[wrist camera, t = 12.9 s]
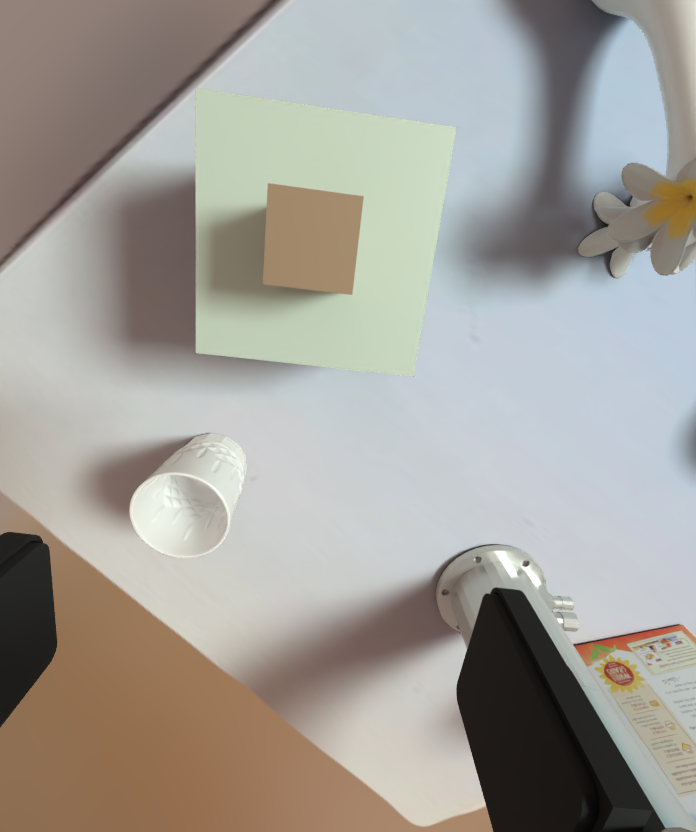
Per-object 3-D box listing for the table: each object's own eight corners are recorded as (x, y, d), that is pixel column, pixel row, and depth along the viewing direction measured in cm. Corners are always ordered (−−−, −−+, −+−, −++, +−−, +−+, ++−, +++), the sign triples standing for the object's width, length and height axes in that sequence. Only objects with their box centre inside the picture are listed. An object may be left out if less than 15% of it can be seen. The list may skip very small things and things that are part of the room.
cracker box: (571, 677, 54) (710, 912, 34) (570, 643, 52) (716, 871, 32) (680, 657, 53) (885, 885, 33) (682, 622, 51) (903, 841, 31)
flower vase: (523, 33, 37) (572, 310, 39) (605, -283, 19) (690, 261, 21) (689, -31, 34) (734, 272, 36) (973, -478, 16) (1036, 176, 18)
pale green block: (409, 184, 34) (492, 84, 16) (386, 341, 38) (431, 400, 20) (250, 161, 33) (151, 29, 15) (244, 325, 37) (161, 372, 19)
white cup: (159, 446, 41) (108, 497, 32) (228, 414, 40) (195, 456, 31) (201, 507, 44) (165, 572, 34) (267, 478, 43) (248, 536, 33)
